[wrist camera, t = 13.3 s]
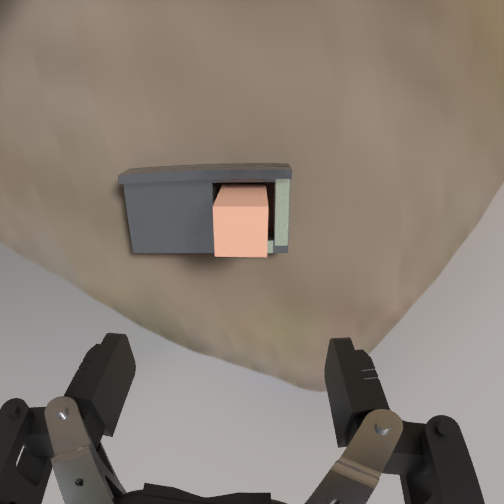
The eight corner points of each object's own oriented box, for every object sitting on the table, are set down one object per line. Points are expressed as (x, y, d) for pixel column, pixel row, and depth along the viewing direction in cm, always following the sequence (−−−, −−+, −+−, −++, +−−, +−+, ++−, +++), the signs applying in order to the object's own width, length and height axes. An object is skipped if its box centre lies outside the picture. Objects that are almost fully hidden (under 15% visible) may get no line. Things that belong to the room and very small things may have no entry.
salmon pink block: (222, 184, 29) (212, 206, 23) (265, 184, 29) (268, 206, 23) (223, 224, 31) (214, 256, 25) (265, 225, 31) (267, 257, 25)
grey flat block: (129, 168, 29) (117, 175, 26) (288, 163, 28) (291, 169, 26) (139, 244, 32) (129, 257, 29) (286, 244, 32) (288, 257, 29)
